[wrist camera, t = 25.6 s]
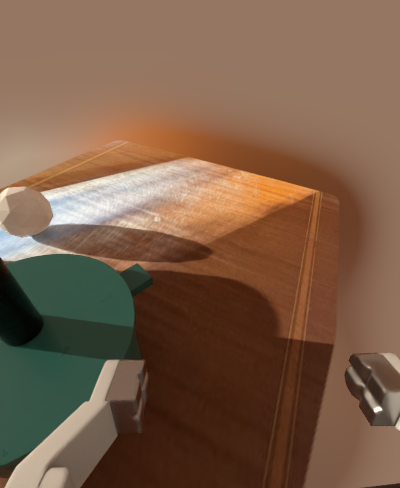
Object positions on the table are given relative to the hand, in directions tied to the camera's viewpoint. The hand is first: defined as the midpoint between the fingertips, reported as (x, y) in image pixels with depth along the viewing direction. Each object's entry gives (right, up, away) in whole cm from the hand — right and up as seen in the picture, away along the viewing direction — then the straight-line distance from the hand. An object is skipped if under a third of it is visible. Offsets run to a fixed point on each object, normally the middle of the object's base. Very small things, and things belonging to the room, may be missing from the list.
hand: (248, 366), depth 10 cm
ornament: (-28, +7, +27) cm, 40 cm away
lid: (-14, -1, +7) cm, 16 cm away
